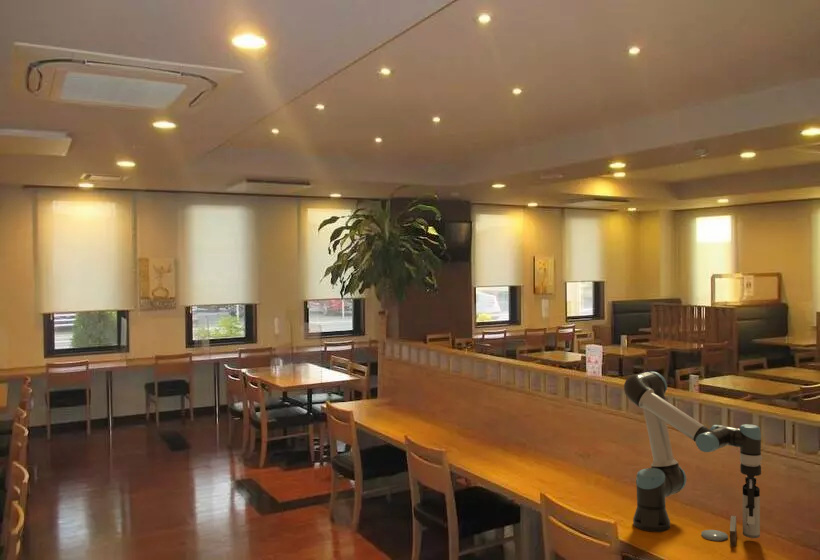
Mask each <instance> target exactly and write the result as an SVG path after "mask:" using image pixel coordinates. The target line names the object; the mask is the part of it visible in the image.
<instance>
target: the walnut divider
mask: <svg viewBox="0 0 820 560" xmlns="http://www.w3.org/2000/svg"><path fill="white" fill-rule="evenodd" d="M736 545H737V516H736V515H730V523H729V546H730V547H737V546H736Z"/></svg>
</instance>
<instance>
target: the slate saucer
mask: <svg viewBox="0 0 820 560" xmlns="http://www.w3.org/2000/svg"><path fill="white" fill-rule="evenodd" d="M700 533H701V534H700V535H701V537H702V538H704V539H706V540H708V541H713V542H724V541H726V540H728V539H729V535H728V534H727V533H726V532H724V531H722V530H721V531H720V530H718V529H716V530H715V529H705V530H702V531H701V532H700Z"/></svg>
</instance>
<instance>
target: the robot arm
mask: <svg viewBox="0 0 820 560" xmlns="http://www.w3.org/2000/svg"><path fill="white" fill-rule="evenodd" d="M667 390H668V384H667V381H666V379H665V377H664V376H663V375H662V374H660V373H659V372H657V371H645V372H641V373H637V374H632V375H630V376H629V377H627V378H626V379H625V381H624V384H623V392H624V394H625V397H627V399H628V400H629V401H630V402H632V403H633V404H634V405H636V406H637V407H639V408H640V409H643V410H642V411H643V415H644V419H645V426H646V430H647V435H648V440H649V446H650V449H651V455H652V459H653V461H652V462H651V464H650V466H651V467H648V468H643V469H640V470H639V471H637V473H636V479H635V484H636V508H635V511H634V515H633V518H632V519H633V526H634V527H635V526H636V527H635V528H637V529H639V530H641V531H645V530H646V532H652V531H655V532H654V533H656V532H658V533H660V532H666V531H669V529H671V519H670V517H669V514H668V512H667V509H666V498H668V497H670V496H672V495H674V494H675V495H676V494H678V493H679V492H680V491H682V490H683V489H684V488H685V487H686V484H687V475H686V472H685V471H684V469H682V467H681V466H680V464H679V462H678V460H676V459H675V457H674V454H673V449H672V443H671V440H670V434H669V431H668V430H669V429H668V425H669V426H671V427H672V428H674V429H676V430H677V431H679V432H680V433H682V434H683V435H685V436H686V437H688V439H690V440H692V441H693V442H695V445H696V447H697V448H698V449H699V451H701V452H704V453H711V452H715V451H717V450H719V449H721V448H725V447H727V446H730V447H734V448H735V447H736V448H739V463H740V468H739V469H740V471H739V472H740V474H742V475H744V476H745V478H744V479H745V484H746V489H747V491H748V505H747V506H746V508H747V524H754V525H755V506H754V491H755V490H756V486H757V485H756V484H757V477H759V476H761V475H762V466H761V464H762V460H763V456H762V435H761V434H762V433H761V432H762V431H761V428H760V426H758V425H755V424H748V423H745V424H741V425H740V427H739V428H737V427H732V426H727V425H726V426H725V425H723V424H713V425H712V426H711V427H710V428H709V427H707V426H705V425H704V424H703V423H701V422H699V421H697V420H696V419H695V418H693V417H691V416H690V415H688V414H687V413H685V412H684V411H683V410H681V409H679V408H677V407H676V406H675V405H673V404H671V403H670V402H668V401H667V400H666V398H665V397H666V396H665V393H666V392H667Z"/></svg>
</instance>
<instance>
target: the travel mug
mask: <svg viewBox="0 0 820 560" xmlns="http://www.w3.org/2000/svg"><path fill="white" fill-rule="evenodd" d="M760 492H761V490H760V487H758V486H757V485H756V490H755V491H754V506H755V525H754V524H747V508H746V506H747V505H748V491H747V489H746V483H745V484H743V485H742V535H743V536H745V537H747V538H749V539H758V538H760V536H761V500H760V499H761V495H760Z"/></svg>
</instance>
